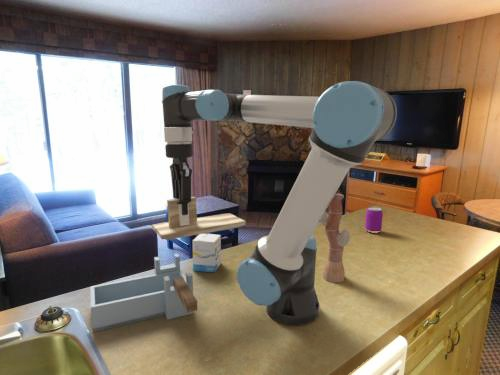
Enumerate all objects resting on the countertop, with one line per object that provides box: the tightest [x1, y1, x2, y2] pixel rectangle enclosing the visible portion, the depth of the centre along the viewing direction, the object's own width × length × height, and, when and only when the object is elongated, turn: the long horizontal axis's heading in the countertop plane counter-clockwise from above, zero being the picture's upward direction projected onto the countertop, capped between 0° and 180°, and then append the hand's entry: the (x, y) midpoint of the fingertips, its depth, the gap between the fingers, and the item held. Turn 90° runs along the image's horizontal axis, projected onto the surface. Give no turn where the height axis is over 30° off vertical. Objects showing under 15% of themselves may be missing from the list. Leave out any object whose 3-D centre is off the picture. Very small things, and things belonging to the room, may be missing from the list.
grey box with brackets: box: [90, 253, 195, 333], centre depth 94 cm, size 17×26×12 cm, turn 116°
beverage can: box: [364, 206, 384, 232], centre depth 163 cm, size 8×8×12 cm
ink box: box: [192, 233, 222, 273], centre depth 122 cm, size 8×8×12 cm
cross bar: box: [173, 277, 198, 313], centre depth 85 cm, size 14×2×2 cm, turn 26°
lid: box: [151, 196, 247, 241], centre depth 98 cm, size 11×25×10 cm, turn 119°
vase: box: [319, 192, 351, 283], centre depth 113 cm, size 10×7×30 cm
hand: (183, 223), depth 96 cm, fingers closed on lid, 2 cm apart
